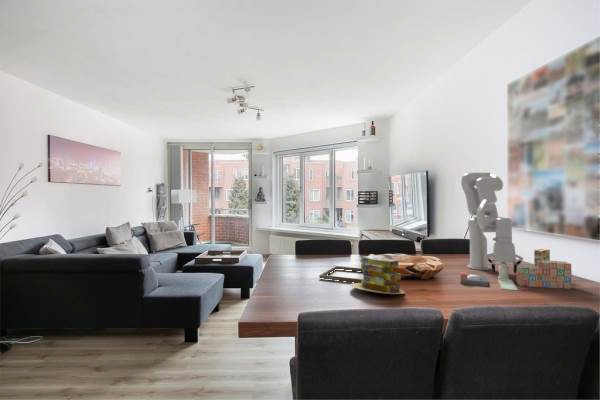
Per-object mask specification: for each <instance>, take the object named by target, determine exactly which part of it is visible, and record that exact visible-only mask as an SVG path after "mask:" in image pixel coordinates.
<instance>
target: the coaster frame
mask: <svg viewBox="0 0 600 400" xmlns="http://www.w3.org/2000/svg"><path fill="white" fill-rule="evenodd" d="M335 269H344V270H352V271H361V272H363V270H361V267H351V266H339V265H335V266H332V267H331V268H329V269H328V270H325V272H323V273H321V274H319V275H318V277H319V278H324V279H332V280H339V281H346V282H354V283H362V280H363V279H364V278H356V277H355V278H354V277H345V276H335V275H328V276H327V274H329V273H330V272H332V271H334V270H335Z"/></svg>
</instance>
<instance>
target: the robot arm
mask: <svg viewBox="0 0 600 400" xmlns="http://www.w3.org/2000/svg"><path fill="white" fill-rule="evenodd" d="M460 181H461V182H460V183H461V188H462V190H463V192H464V195H465V201H466V204H467V210H468V214H469V215H471V216H474V217H471V218H470V219H469V220H467V227H468V233H469V263H468V264H467V265H466V267H467V268H469V269H472V270H473V269H474V270H480V271H481V270H483V271H484V270H485V271H486V270H487V271H488V270H490V269H491V270H492V271H493V273H495V272H496V264H495V263H497V262H499V263H502V262H505V263H512V264H513V274H517V266H520V264H522V262H523V260H524V257H523V256H521V255H518V254H516V248H515V244H514V243H513V227H512V226H513V225H512V224H513V221H512V219H511V218H510V217H503V216H499V213H498V209H497V205H496V204H495V203H497V201H498V197H497V195H496V192H500V191H501V190H503V187H504V183H503V182H504V181H503V180H502V179H501V177H499V176H497V174H496V175H495V174H494V173H491V172H485V171H484V172H466V173H464V174H463V175H462V177H461V180H460ZM484 233H495V237H493V238H492V241H495V242H494V243H493V250H492V252H491V253H489V254H488V239H487V237H486V235H485V234H484ZM490 257H493V258H492V259H493V260H492V259H491V258H490ZM517 259H518V261H516V260H517ZM488 262H489V263H490V264H491V266H490V265H488Z"/></svg>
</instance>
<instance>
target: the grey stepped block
mask: <svg viewBox="0 0 600 400" xmlns="http://www.w3.org/2000/svg"><path fill="white" fill-rule="evenodd" d="M468 275H469V274H468V273H467V272H463V271H462V272H460V284H461V285H468V286H470V285H471V286H477V287H478V286H479V287H488V286H489V285H488V284H489V282H488V278H487V276H484V275H483V276H482V275H478V276H479V277H481V280H472V279H467V276H468Z"/></svg>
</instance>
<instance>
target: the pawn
mask: <svg viewBox="0 0 600 400" xmlns="http://www.w3.org/2000/svg"><path fill="white" fill-rule="evenodd" d="M499 264H500V265H498V277H497V278H498V279H499V278H500V279H510V276H509V266H508V265H507V262H500V263H499Z"/></svg>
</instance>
